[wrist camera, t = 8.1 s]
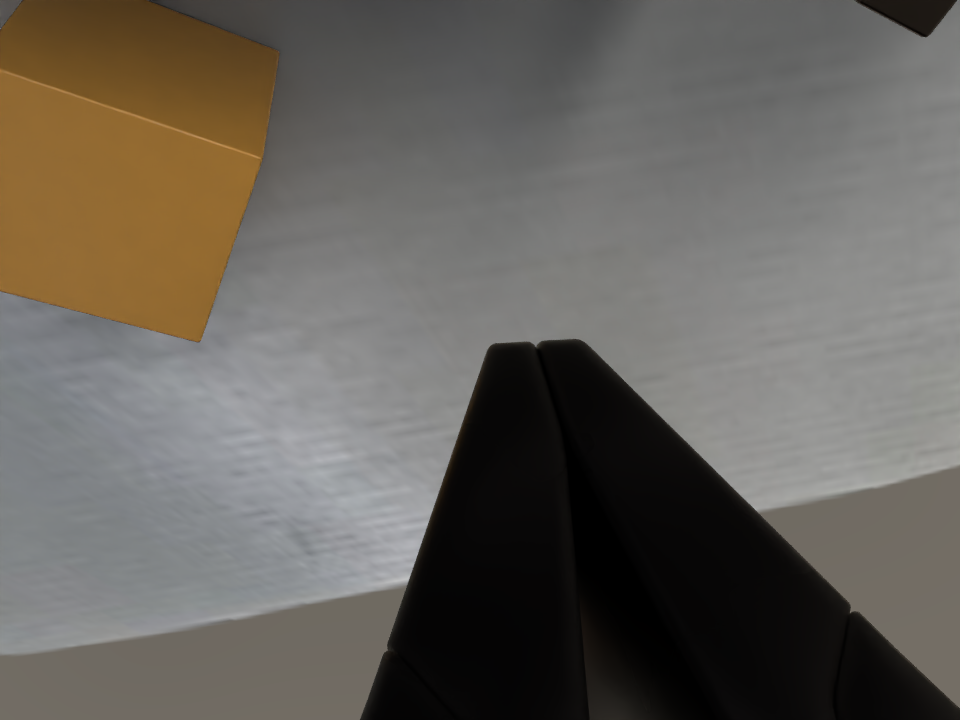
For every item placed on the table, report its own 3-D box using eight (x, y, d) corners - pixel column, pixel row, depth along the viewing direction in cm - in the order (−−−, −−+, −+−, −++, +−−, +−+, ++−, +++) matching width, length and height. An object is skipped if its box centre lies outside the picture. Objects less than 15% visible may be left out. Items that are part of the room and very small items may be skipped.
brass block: (280, 50, 18) (262, 158, 15) (224, 220, 21) (200, 343, 17) (50, -39, 17) (-26, 60, 13) (21, 156, 19) (-49, 280, 16)
